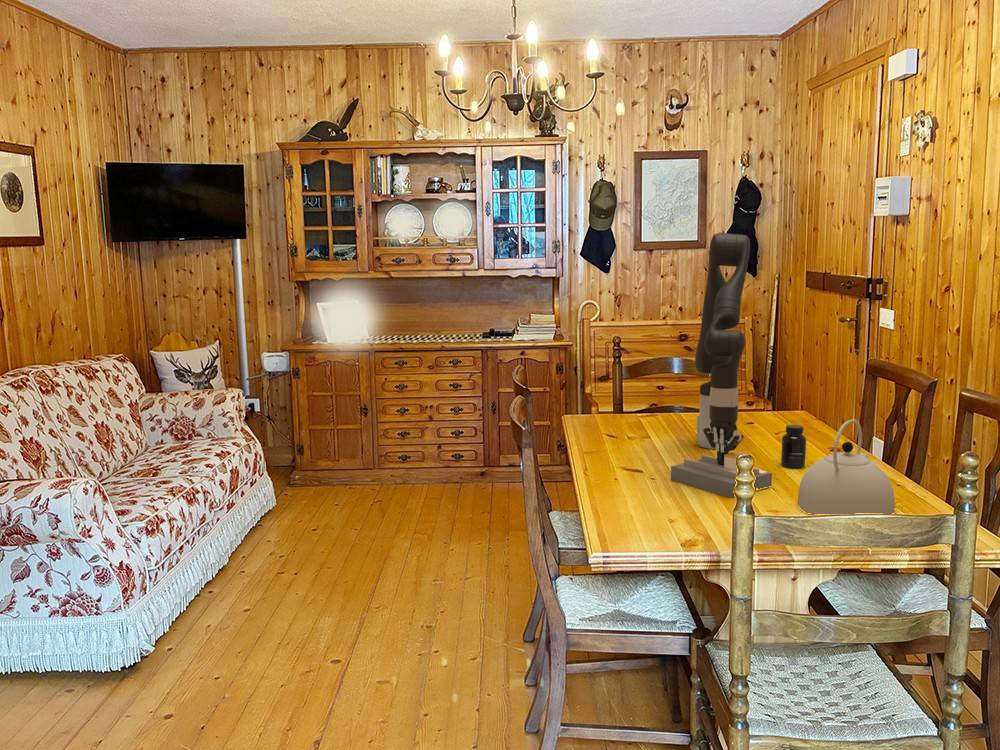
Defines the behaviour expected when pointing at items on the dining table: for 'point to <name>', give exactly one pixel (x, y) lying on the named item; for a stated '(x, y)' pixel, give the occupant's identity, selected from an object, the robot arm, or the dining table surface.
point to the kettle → (846, 483)
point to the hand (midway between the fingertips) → (722, 464)
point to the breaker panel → (713, 476)
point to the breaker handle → (731, 461)
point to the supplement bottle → (793, 447)
